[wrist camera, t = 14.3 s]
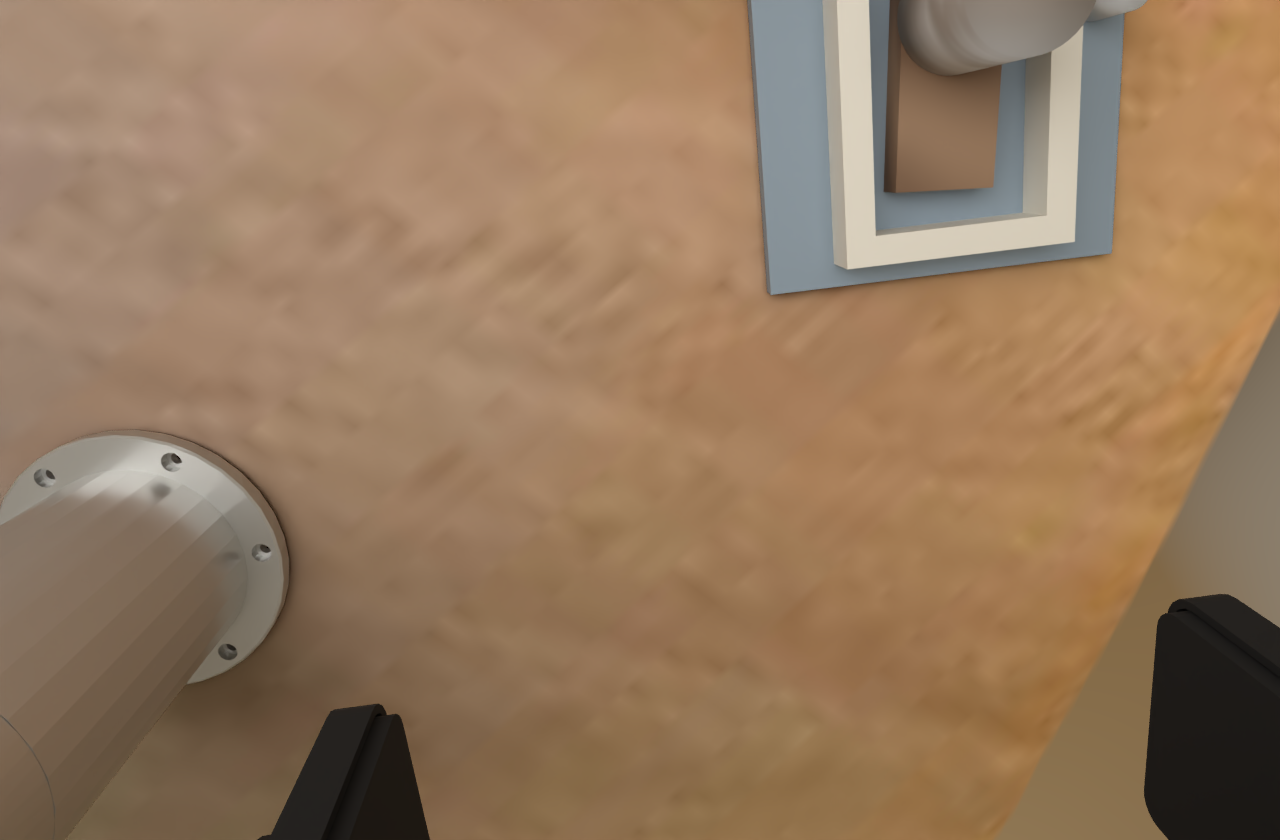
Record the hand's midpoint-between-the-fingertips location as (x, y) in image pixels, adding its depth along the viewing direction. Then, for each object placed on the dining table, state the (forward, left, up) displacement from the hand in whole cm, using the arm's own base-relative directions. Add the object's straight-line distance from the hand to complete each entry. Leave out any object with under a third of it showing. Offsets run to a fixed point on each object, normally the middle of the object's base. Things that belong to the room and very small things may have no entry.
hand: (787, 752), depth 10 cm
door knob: (+13, +11, -28) cm, 32 cm away
